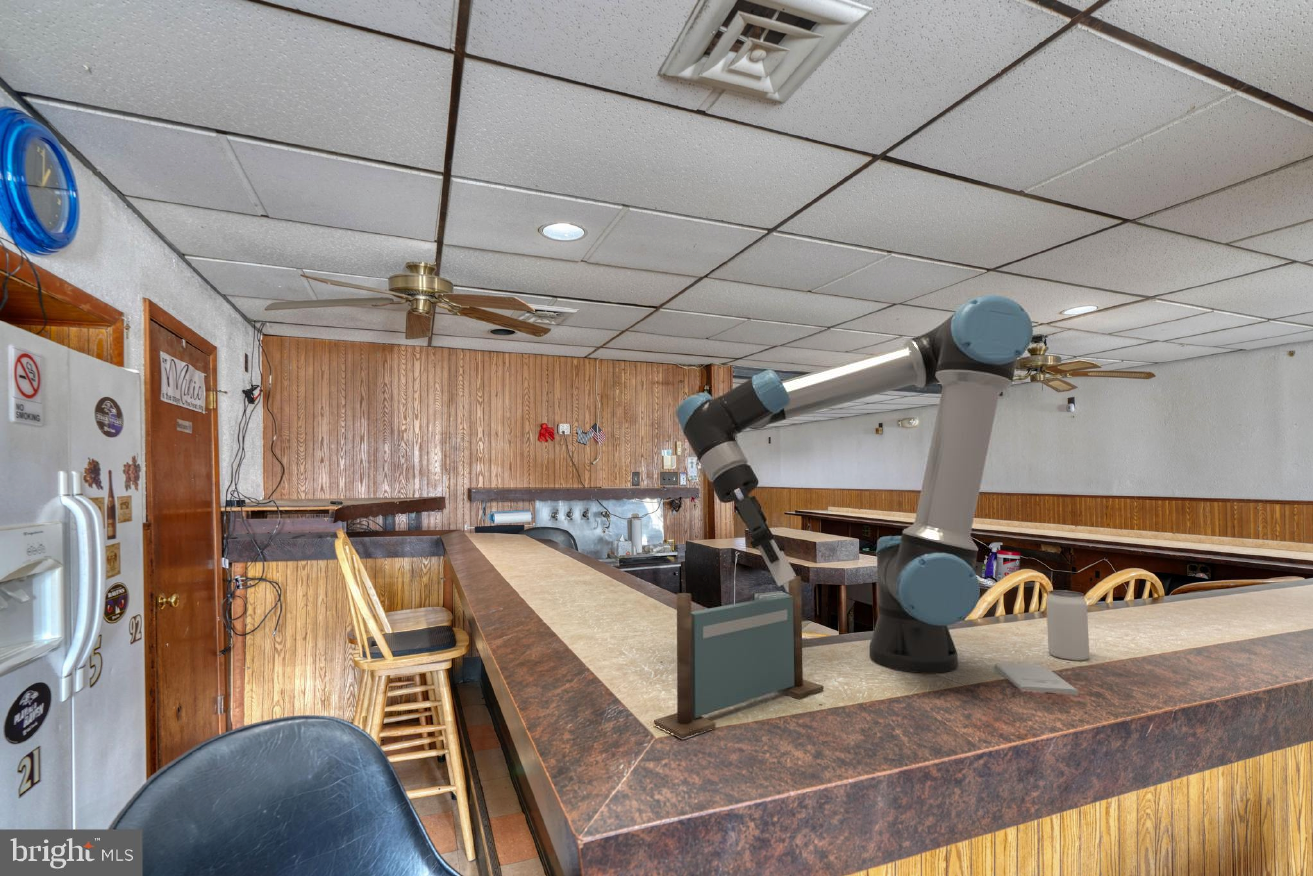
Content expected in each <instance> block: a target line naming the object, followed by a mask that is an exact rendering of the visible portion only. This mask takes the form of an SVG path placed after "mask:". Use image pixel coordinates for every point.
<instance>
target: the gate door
mask: <svg viewBox="0 0 1313 876" xmlns="http://www.w3.org/2000/svg"><path fill="white" fill-rule="evenodd" d="M691 655H692V717H695V718H697V717H700V716H702V717H704V716H705V715H709V714H711V713H714V712H718V711H722V710H725V709H727V708H731V707H734V706H736V705H739V704H742V703H745V702H749V701H752V700H754V699H757V698H761V697H764V696H767V695H769V694H772V693H775V692H777V691H779V690H782V689H785V688H788V687H792V686H794V632H793V596H789V594H781V595H775V596H770V597H765V598H759V599H755V600H754V599H753V600H750V601H743V602H739V603H733V604H728V605H722V606H717V607H711V608H710V607H709V608H706V609H698V610H694V611H691Z"/></svg>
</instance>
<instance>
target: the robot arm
mask: <svg viewBox="0 0 1313 876" xmlns="http://www.w3.org/2000/svg"><path fill="white" fill-rule="evenodd" d="M1033 327H1034V326H1033V323H1032V319H1031V317H1030V315H1029V314H1028V312H1027V311H1026V310H1025V309H1024V308H1023V306H1022V305H1020V304H1019V303H1018V302H1017V301H1015V300H1014V299H1011V298H1008V297H1007V296H1002V295H996V294H991V295H989V294H988V295H982V296H979V297H975V298H973V299H972V300H969V301H967V302H965V303H964V304H962V305H960V306H959V307H958V308H957V309H956V311H955V312H954V313H953V314H952V315H951V316H949V317H948V318H947V319H946V320H944V322H942V323H941V324H940V325H938V326H936V327H935V328H933V329H931V330H930V331H927V332H925V333H923V334H921V335H918V336H916V337H911V338H909V339H908V338H907V340H906V341H905V342H904V344H903V345H902V346H900V347H897V348H893V349H889V350H887V351H883V352H880V353H876V354H875V353H874V354H873V355H869V356H865V357H862V358H859V359H854V360H852V361H848V362H844V363H841V364H838V365H833V366H831V367H827V368H823V369H821V370H817V371H813V372H810V373H807V374H803V375H800V376H796V377H793V378H789V379H785V380H782V379H781V378H780V377H779V375H778V374H777V372H775V371H774V370H772V369H766V370H765V371H762V372H760V373H759V374H754V375H753V376H752V377H751V378H749V379H747V380H746V381H744V382H742V383H741V384H739V385H737V386H736V387H733V389H730V390H728V391H727V392H725V393H723V394H722V395H720V396H717V397H715V398H714V397H712V395H711V394H709V393H707V392H698V393H696V394H693V395H690V396H689V397H687V398H686V399H683V401H682V402H681V403H680V404H678V407H677V408H676V412H675V413H676V414H675V416H676V419H677V421H678V423H679V425H680V428H681V430H682V433H683V435H684V436H685V438H686V440H687V442H688V443H689V445H690V447H691V449H692V451H693V453H694V455H695V456H696V458H697V460H698V463H699V464H700V466H701V468H700V469H699V470H700V473H701V474H705V476H706V477H707V478H708V481H709V482H711V483H712V484H711V487H712V489H713V490H714V493H715V495H716V496H717V499H718V501H719V502H721V503H724V504H729V503H732V502H734V503H735V505H734V506H733V507H734V510H735V511H736V514H737V515H738V516H739V518H740V519H741V520H742V523H744V524H745V526H746V528H747V530H748V532H749V534H750V537H751V539H752V540H751V541H750V542H749V543H750V545H751V548H753V549H755V548H758V551H759V553H760V554H761V556H762V559H763V560H764V562H765V564H766V565H767V567H768V570H769V571H770V573H771V575H772V577H773V578H774V580H775V582H776V584H777V586H778V587H782V586H783V588H784V589H785V591H786V593H788V594H789V581H791V580H793V579H795V577H794V576H797V575H796V573H795V571H794V569H793V567H792V566H791V564H790V562H789V560H788V558H787V556H786V555H785V553H784V551H786V550H787V549H786V547H785V546H784V544H783V545H780V544H779V543H778V542H777V541H778V540H777V539H776V538H775V536H774V535H773V533H772V531H771V528H770V527H769V525H768V524H767V517H766V515H765V513H764V511H763V510H762V506H761V503H760V502H759V500H758V499H757V497H756V495H753V496H751V495H750V494H751V492H752V491H754V490H755V489H756V488H758V487H757V486H758V485H759V478H758V476H757V475H756V474H755V471H754V470H753V468H752V466H751V465H750V464H748V459H747V457H746V455H745V453H744V451H743V450H742V448H741V446H740V445H739V442H738V441H737V439H736V438H735V436H736V435H738V434H740V433H742V432H744V431H746V430H747V429H750V430H759V429H764V428H766V427H767V426H770V425H772V424H775V423H779V422H782V421H785V420H788V419H792V418H796V417H801V416H804V415H806V414H810V413H813V412H818V411H821V410H824V409H829V408H833V407H837V406H840V405H843V404H846V403H851V402H855V401H858V400H861V399H865V398H870V397H872V396H873V397H874V396H876V395H880V394H884V393H886V392H891V391H895V390H897V389H901V388H905V387H909V386H912V385H914V386H916V387H918V388H920V389H921V388H924V387H928V386H934V385H938V384H940V385H941V387H942V389H941V393H940V398H939V403H938V409H937V413H936V416H935V417H936V418H935V422H934V428H933V432H932V436H931V441H930V447H929V451H928V456H927V461H926V466H925V471H924V476H923V479H922V480H923V481H922V485H921V490H920V494H919V499H918V504H917V509H916V513H915V518H914V522H913V524H912V525H911V526H909V527H906V528H904V529H903V530H902V533H901V535H895V536H893V535H888V536H886V535H885V536H882V537H880V538H878V539H877V542H876V551H875V556H876V562H877V563H876V568H877V572H876V573H877V599H878V600H877V603H878V606H877V607H878V610H877V611H878V617H877V620H876V624H875V627H874V630H873V633H872V636H871V638H870V639H871V640H870V643H869V657H870V659H871V660H872V661H874V663H876V664H879V665H881V666H883V667H884V666H885V667H886V668H887V667H888V668H890V669H895V670H899V671H905V672H912V673H913V672H914V673H921V674H922V673H925V674H926V673H927V674H928V673H929V674H931V673H932V674H935V673H936V674H937V673H947V672H951V671H954V670H956V669H957V668H958V667H959V663H958V662H959V659H958V656H959V655H958V651H957V648H956V646H955V643H954V641H953V638H952V635H951V632H950V629H949V626H951V625H954V624H957V623H959V622H961V621H963V620H965V619H966V618H967V617H969V616H970V615H971V613H973V611H974V610H975V609H976V607H977V604H978V603H979V600H980V593H981V591H980V590H981V589H980V588H981V587H980V582H979V579H978V576H977V574H976V572H975V568H976V563H977V557H978V551H979V547H978V546H977V545H976V543H975V542H974V540H973V539H972V537H971V534H972V527H973V526H974V525H973V523H974V518H975V516H976V515H975V514H976V509H977V505H978V499H979V496H980V495H979V494H980V489H981V485H982V480H983V476H984V475H983V474H984V470H985V465H986V460H987V456H988V450H989V445H990V440H991V436H992V432H993V426H994V422H995V417H996V412H997V406H998V403H999V397H1000V394H1001V393H1002V392H1004V391H1006V390H1007V389H1009V388H1010V387H1011V386H1012V385H1013V381H1014V377H1015V371H1016V366H1017V362H1018V359H1020V358H1021V357H1022V356H1023V355H1024V353H1025V352H1027V349H1028V348H1029V346H1030V344H1031V342H1032V339H1033V335H1034V329H1033Z"/></svg>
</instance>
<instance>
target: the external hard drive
mask: <svg viewBox="0 0 1313 876" xmlns="http://www.w3.org/2000/svg"><path fill="white" fill-rule="evenodd" d="M994 670H996V671H997V673H999V674H1001V676H1003V677H1004V678H1005V679H1006V680H1007V679H1009V680H1010V681H1011V682H1012V683H1014V684H1015V685H1016V686H1018V687H1019V688H1020V689H1021V690H1029V691H1030V690H1031V691H1038V692H1058V693H1064V694H1074V695H1073V696H1077V695H1078V696H1079V690H1078V689H1077V688H1075V687H1073V686H1072V685H1071V684H1070V683H1068V682H1067V681H1066V680H1064V679H1063V678H1061V677H1060V676H1059V675H1058V674H1056V673H1054V671H1052V670H1050V669H1049V668H1048V667H1046V666H1045V665H1042V664H1029V663H1013V662H1011V663H1010V662H1009V663H1008V662H995V663H994ZM1010 681H1009V682H1010ZM1011 682H1010V683H1011ZM1012 683H1011V684H1012Z"/></svg>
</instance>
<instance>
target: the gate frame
mask: <svg viewBox="0 0 1313 876" xmlns="http://www.w3.org/2000/svg"><path fill="white" fill-rule="evenodd" d="M794 577H795V579H793V580H791V581H789V592H788V595H789V596H793V632H794V686H792V687H788V688H785V689H782V690H779V691H776V692H778V693H781V694H784V695H786V696H789V695H790V697H791V696H792V698H794V697H795V699H797V700H801V699H805V698H808V697H810V695H811V696H813V695H816V694H819V693H821V692H824V690H825V689H824V685H822V684H819V683H816V682H813V681H810V680H806V679H804V677H803V676H804V672H803V670H804V669H803V624H802V623H803V621H802V619H803V618H802V617H803V616H802V615H803V614H802V613H803V612H802V607H803V606H802V577H801V576H799V575H796V576H794ZM691 612H692V594H691V593H688V592H680V593H679V592H678V593H676V688H677V689H676V691H677V692H676V693H677V694H676V696H677V697H676V700H677V701H676V706H677V707H676V710H677V712H676V713H675V712H674V713H672V714H669V715H665V716H663V717H659V718H656V719H653V725H654V724H655V725H656V726H659V727H660V728H662V729H665V730H666V731H669V732H670V733H673V734H674V735H677V736H679V737H680V738H685V737H687V736H691V735H694V734H696V733H701V732H704V731H708V730H709V729H714V728H716V725H717V723H716V722H714V721H712V720H711V719H708V718H706V717H704V716H700V717H697V718H695V717H692V655H691ZM818 692H819V693H818ZM716 729H717V728H716ZM714 730H715V729H714ZM708 732H709V731H708Z"/></svg>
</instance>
